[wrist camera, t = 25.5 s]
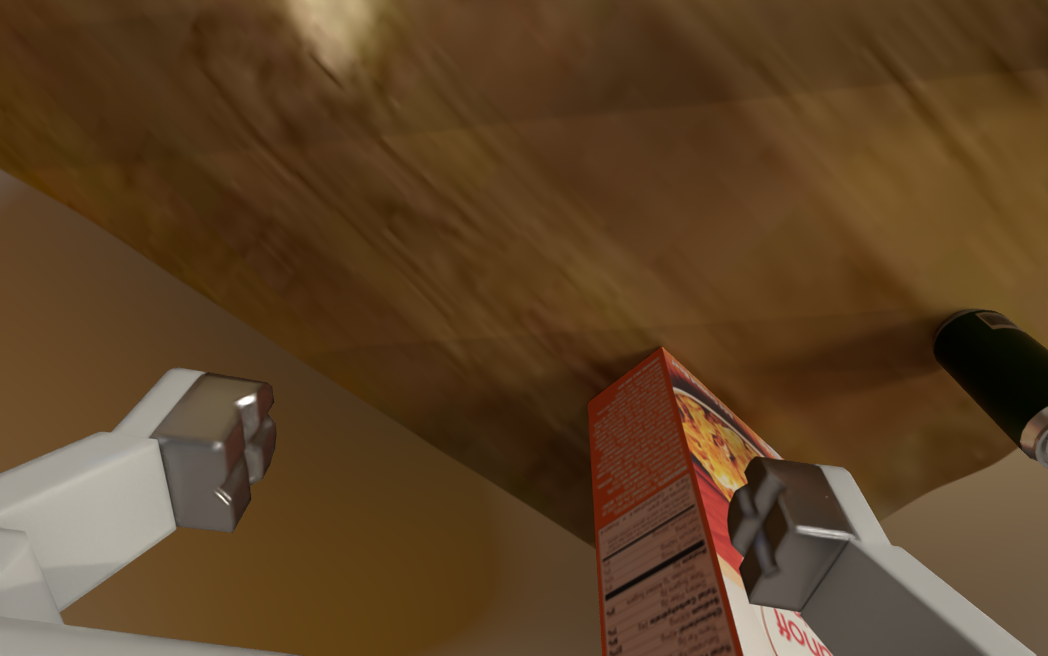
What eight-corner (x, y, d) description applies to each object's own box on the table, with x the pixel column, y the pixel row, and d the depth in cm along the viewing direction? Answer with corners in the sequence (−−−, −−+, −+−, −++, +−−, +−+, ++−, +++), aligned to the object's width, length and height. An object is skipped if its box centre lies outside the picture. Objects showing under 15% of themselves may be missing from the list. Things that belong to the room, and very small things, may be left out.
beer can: (937, 307, 45) (1048, 407, 35) (1015, 302, 45) (1150, 403, 34) (920, 366, 48) (1019, 476, 38) (993, 363, 47) (1113, 473, 37)
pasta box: (824, 497, 56) (1052, 955, 30) (750, 538, 59) (898, 984, 33) (661, 346, 48) (775, 779, 23) (587, 402, 52) (613, 837, 26)
